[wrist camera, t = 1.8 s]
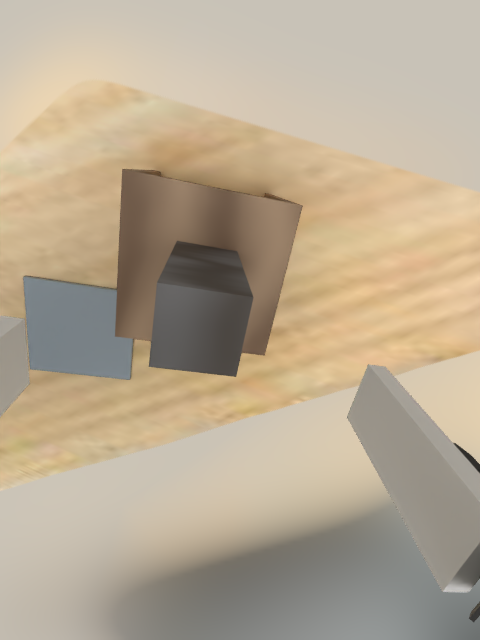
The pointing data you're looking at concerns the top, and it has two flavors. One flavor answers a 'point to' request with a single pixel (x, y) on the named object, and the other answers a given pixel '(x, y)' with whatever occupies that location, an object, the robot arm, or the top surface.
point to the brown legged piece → (200, 270)
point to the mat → (74, 329)
